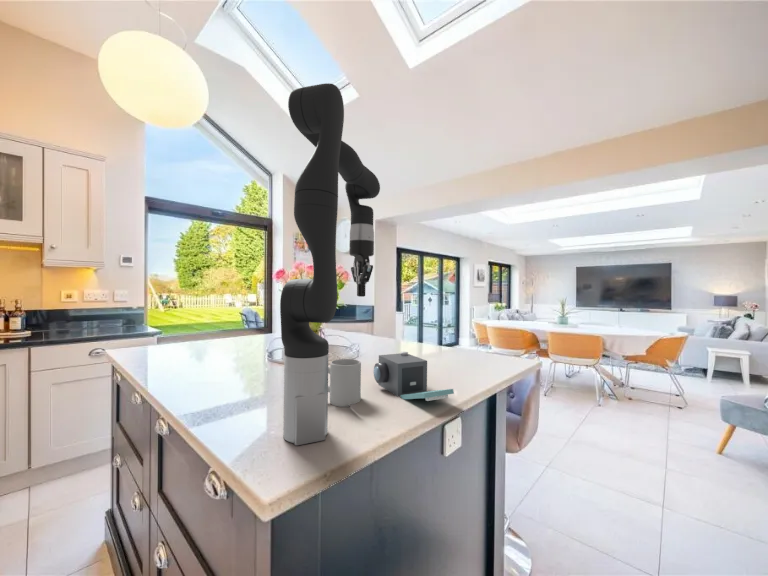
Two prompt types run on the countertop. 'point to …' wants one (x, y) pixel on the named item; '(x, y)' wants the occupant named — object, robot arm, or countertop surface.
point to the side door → (429, 395)
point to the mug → (345, 382)
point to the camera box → (401, 373)
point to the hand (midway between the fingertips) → (361, 296)
